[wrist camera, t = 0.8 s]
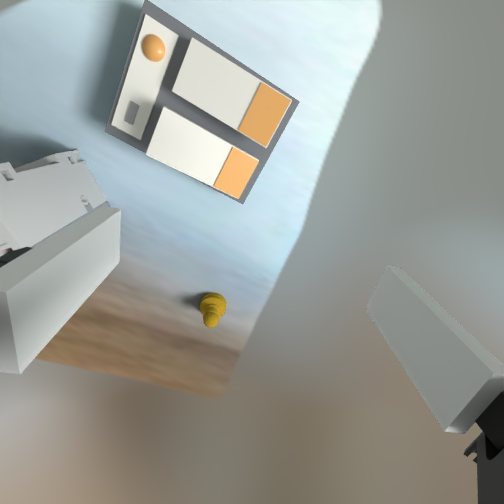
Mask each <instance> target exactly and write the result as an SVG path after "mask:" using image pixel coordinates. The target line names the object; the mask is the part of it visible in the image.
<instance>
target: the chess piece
mask: <svg viewBox="0 0 504 504" xmlns="http://www.w3.org/2000/svg"><path fill="white" fill-rule="evenodd" d="M225 311H226V301H225V299H224V297H223V296H222V295H220V294H218V293H209V294H206V295H205V296H204V297H203V298H202V300H201V303H200V312H201V313H202V315H203V321H204V324H205V325H206V326H207V327H210V328H212V327H215V326H216V325H217V324H218V321H219V320H220V317H221V316H222V315H223V314H224V313H225Z"/></svg>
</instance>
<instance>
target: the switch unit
mask: <svg viewBox="0 0 504 504" xmlns="http://www.w3.org/2000/svg"><path fill="white" fill-rule="evenodd" d="M192 37H193V38H194V39H196V40H197V41H199V42H201V43H202V44H204V45H205V46H207V47H209V48H210V49H212V50H213V51H215V52H217V53H218V54H220V55H221V56H223V57H225V58H226V59H228V60H229V61H231V62H233V63H234V64H236V65H237V66H239V67H240V68H242V69H244V70H245V71H247V72H248V73H250V74H252V75H253V76H255V77H256V78H258V79H260V80H261V81H263V82H264V83H266V84H268V85H269V86H271V87H272V88H274V89H276V90H277V91H279V92H280V93H282V94H283V95H285V96H287V97H288V98H290V99H291V100H292V102H291V104H290V106H289V107H288V109H287V111H286V113H285V115H284V117H283V119H282V120H281V122H280V124H279V126H278V128H277V130H276V131H275V133H274V135H273V137H272V139H271V141H270V143H269V144H268V146H267V148H265V147H263V146H262V145H260V144H258V143H257V142H255V141H253V140H252V139H250V138H248V137H247V136H245V135H243V134H242V133H240V132H238V131H237V130H235V129H233V128H232V127H230V126H229V125H227V124H225V123H224V122H222V121H220V120H219V119H217V118H215V117H214V116H212V115H210V114H209V113H207V112H205V111H204V110H202V109H200V108H199V107H197V106H196V105H194V104H192V103H191V102H189V101H187V100H186V99H184V98H182V97H181V96H179V95H177V94H176V93H174V92H172V89H173V87H174V84H175V82H176V79H177V76H178V74H179V71H180V68H181V66H182V63H183V60H184V58H185V55H186V52H187V50H188V47H189V44H190V42H191V39H192ZM298 104H299V101H298V100H296V99H295V98H293V97H292V96H290V95H289V94H287V93H286V92H284V91H283V90H281V89H280V88H278V87H277V86H275V85H274V84H272V83H271V82H269V81H268V80H266V79H265V78H263V77H262V76H260V75H259V74H257V73H256V72H254V71H253V70H251V69H250V68H248V67H247V66H245V65H244V64H242V63H241V62H239V61H238V60H236V59H235V58H233V57H232V56H230V55H229V54H227V53H226V52H224V51H223V50H221V49H220V48H219V47H217V46H216V45H214V44H213V43H211V42H210V41H208V40H207V39H205V38H204V37H202V36H201V35H199V34H198V33H196V32H195V31H193V30H192V29H190V28H189V27H187V26H186V25H184V24H183V23H181V22H180V21H178V20H177V19H175V18H174V17H172V16H171V15H169V14H168V13H166V12H165V11H163V10H162V9H160V8H159V7H157V6H156V5H154V4H153V3H151V2H150V1H148V0H145V1H144V5H143V8H142V11H141V14H140V18H139V21H138V24H137V27H136V31H135V34H134V37H133V41H132V44H131V47H130V50H129V54H128V57H127V60H126V63H125V67H124V70H123V73H122V76H121V80H120V83H119V86H118V90H117V93H116V96H115V99H114V103H113V106H112V109H111V112H110V116H109V119H108V122H107V125H106V129H105V132H107V133H109V134H110V135H112V136H114V137H116V138H118V139H120V140H122V141H124V142H126V143H128V144H129V145H131V146H133V147H135V148H137V149H139V150H141V151H143V152H145V153H146V152H147V150H148V147H149V144H150V142H151V139H152V136H153V134H154V131H155V128H156V126H157V123H158V120H159V118H160V115H161V112H162V110H163V107H164V106H166V107H167V108H169V109H171V110H173V111H175V112H176V113H178V114H180V115H182V116H183V117H185V118H187V119H189V120H191V121H192V122H194V123H196V124H198V125H199V126H201V127H203V128H205V129H207V130H208V131H210V132H212V133H214V134H215V135H217V136H219V137H221V138H223V139H224V140H226V141H228V142H230V143H231V144H233V145H235V146H237V147H238V148H240V149H242V150H244V151H246V152H247V153H249V154H251V155H253V156H254V157H256V158H257V159H258V160H259V162H258V164H257V166H256V168H255V170H254V172H253V174H252V175H251V177H250V179H249V181H248V183H247V185H246V186H245V188H244V190H243V192H242V194H241V196H240V198H239V199H237V198H235V197H233V196H231V195H229V194H227V193H224V192H222V191H220V190H218V189H216V188H214V187H212V186H210V185H208V184H206V183H204V182H201V181H200V182H201V183H203V184H205V185H207V186H209V187H211V188H213V189H215V190H217V191H218V192H220V193H222V194H224V195H226V196H228V197H230V198H232V199H234V200H236V201H237V202H239V203H241V204H243V203H244V202H245V200H246V198H247V196H248V194H249V192H250V191H251V189H252V187H253V185H254V183H255V182H256V180H257V178H258V176H259V174H260V172H261V171H262V169H263V167H264V165H265V163H266V162H267V160H268V158H269V156H270V154H271V153H272V151H273V149H274V147H275V145H276V143H277V142H278V140H279V138H280V136H281V134H282V133H283V131H284V129H285V127H286V125H287V124H288V122H289V120H290V118H291V116H292V114H293V113H294V111H295V109H296V107H297V105H298ZM182 173H183V172H182ZM184 174H185V173H184ZM186 175H187V174H186ZM188 176H189V175H188ZM190 177H191V176H190ZM192 178H193V177H192ZM194 179H195V178H194ZM196 180H197V179H196ZM198 181H199V180H198Z"/></svg>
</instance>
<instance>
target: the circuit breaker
mask: <svg viewBox="0 0 504 504" xmlns="http://www.w3.org/2000/svg"><path fill="white" fill-rule="evenodd" d="M79 153H80V152H79V150H74V151H67V152H61V153H56V154H52V155H50V156H47V157H44V158H42V159H39V160H36V161H33V162H31V163H28V164H25V165H22V166H20V167H17V168H14V169H13V167H12V166H11V164H10V163H9V162H6V163H1V164H0V256H2V255H4V254H6V253H8V252H10V251H14V250H17V249H21V248H24V247H31V248H34V247H36V246H37V245H39V244H41V243H42V242H44V241H46V240H47V239H49V238H51V237H52V236H54V235H56V234H57V233H59V232H61V231H62V230H64V229H66V228H67V227H69V226H71V225H72V224H74V223H76V222H77V221H79V220H81V219H82V218H84V217H86V216H87V215H89V214H91V213H92V212H94V211H96V210H97V209H99V208H101V207H102V206H107V207H110V205H109V203H108V201H107V200H106V198H105V196H104V194H103V192H102V191H101V189H100V187H99V185H98V184H97V182H96V180H95V178H94V176H93V175H92V173H91V171H90V169H89V168H88V166H87V164H86V162H85V161H81V159H80V158H79V156H78V154H79Z"/></svg>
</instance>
